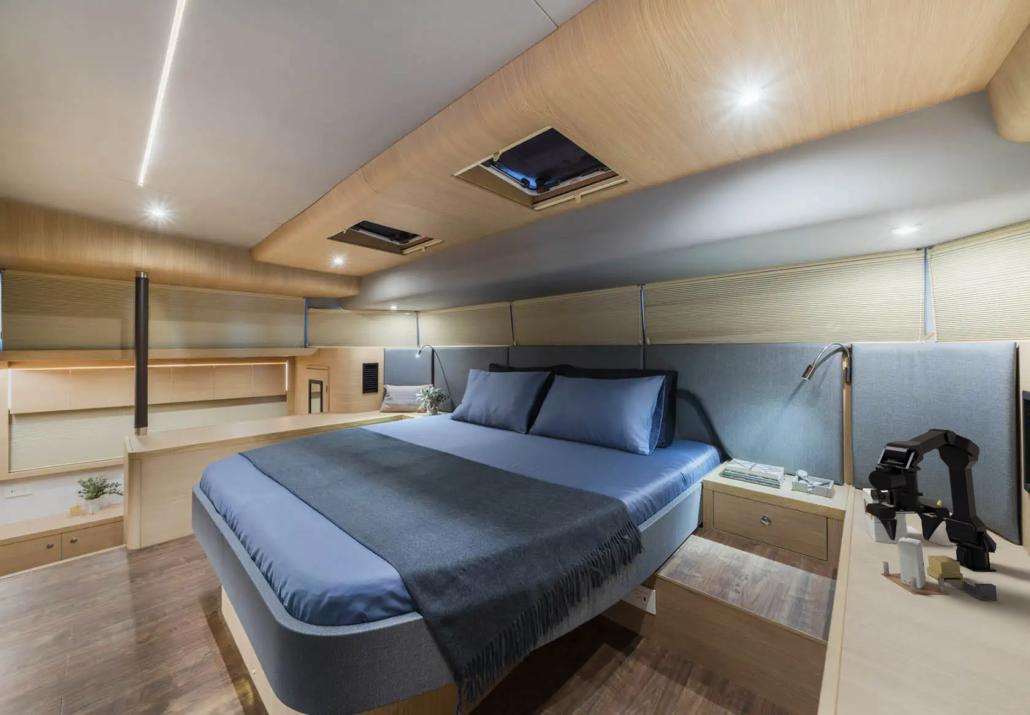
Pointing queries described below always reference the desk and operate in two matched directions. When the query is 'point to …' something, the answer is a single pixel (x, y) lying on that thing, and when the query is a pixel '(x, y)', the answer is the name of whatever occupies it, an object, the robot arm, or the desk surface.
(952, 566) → the collar
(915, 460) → the robot arm
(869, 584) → the desk surface
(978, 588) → the rail
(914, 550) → the skincare box
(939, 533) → the candle
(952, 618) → the desk surface
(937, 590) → the peg cradle
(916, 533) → the external hard drive
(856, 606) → the desk surface
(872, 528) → the supplement box
